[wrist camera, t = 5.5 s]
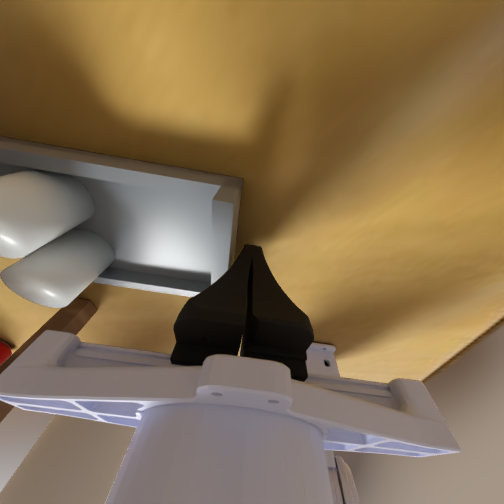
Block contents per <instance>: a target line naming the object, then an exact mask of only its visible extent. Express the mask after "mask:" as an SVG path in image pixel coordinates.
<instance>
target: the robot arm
mask: <svg viewBox="0 0 504 504" xmlns="http://www.w3.org/2000/svg"><path fill="white" fill-rule="evenodd" d="M174 333H175V338H176V345H175V347H174V350H173V352H172V354H166V353H159V352H151V351H144V350H137V349H129V348H122V347H114V346H107V345H100V344H92V343H85V342H81V340H80V338H79V337H78V336H76V335H74V334H72V333H68V332H61V331H53V330H45V331H44V332H43V333H42V334H41V335H40V336H39V337H38V338H37V339H36V340H35V341H34V342H33V343H32V344H31V345H30V346H29V347H28V348H27V349H26V350H25V351H24V352H23V353H22V354H21V355H20V356H19V357H18V358H16V359H15V360H14V361H13V362H12V363H11V364H10V365H9V366H8V367H7V368H6V369H5V370H4V371H3V372H2V373H1V374H0V400H1V401H3V402H6V403H8V404H11V405H13V406H16V407H18V408H21V409H23V410H29V411H37V412H45V413H52V414H58V415H65V416H71V417H77V418H83V419H89V420H95V421H101V422H106V423H112V424H118V425H124V426H129V427H135V428H137V429H136V431H135V434H134V436H133V439H132V441H131V443H130V446H129V449H128V451H127V453H126V455H125V458H124V460H123V463H122V465H121V468H120V470H119V472H118V475H117V477H116V479H115V482H114V484H113V487H112V489H111V491H110V494H109V496H108V499H107V501H106V504H360V502H359V498H358V495H357V491H356V487H355V483H354V480H353V477H352V474H351V471H350V468H349V466H348V465H347V464H346V463H345V462H344V461H343V459H342V457H340V456H335V461H334V456H333V451H332V450H336V451H352V452H366V453H367V452H368V453H380V454H391V455H403V456H411V457H426V456H434V455H441V454H449V453H457V452H461V448H460V446H459V444H458V442H457V441H456V439H455V437H454V436H453V434H452V432H451V431H450V429H449V427H448V425H447V424H446V422H445V420H444V418H443V417H442V415H441V413H440V411H439V410H438V408H437V406H436V405H435V403H434V401H433V399H432V398H431V396H430V394H429V392H428V391H427V389H426V387H425V386H424V384H423V382H421V381H418V380H411V379H404V378H398V379H394V380H392V381H390V382H389V383H380V382H373V381H365V380H358V379H351V378H343V377H340V374H339V370H338V367H337V363H336V360H335V356H334V352H335V351H336V348H335V346H333V345H327V344H319V343H313V340H314V333H313V329H312V326H311V323H310V320H309V317H308V316H307V315H306V314H305V313H304V312H303V311H301V310H300V309H299V308H298V307H297V306H296V305H295V304H294V303H293V302H292V301H291V300H290V299H289V297H288V296H287V295H286V294H285V293H284V291H283V290H282V289H281V287H280V286H279V284H278V283H277V281H276V280H275V278H274V276H273V275H272V273H271V271H270V269H269V267H268V265H267V262H266V260H265V257H264V254H263V251H262V248H261V247H260V246H254V245H247V244H246V245H244V248H243V250H242V252H241V253H240V255H239V256H238V258H237V259H236V261H235V262H234V263H233V264H232V266H231V267H230V268H229V269H228V270H227V271H226V272H225V273H224V274H223V275H222V276H221V277H220V278H219V279H218V280H217V281H216V282H214V283H213V284H212V285H210V286H209V287H208V288H206V289H205V290H203V291H202V292H200V293H199V294H197V295H195V296H194V297H192V298H190V299H189V300H188V301H187V302H186V304H185V305H184V307H183V308H182V310H181V312H180V313H179V315H178V317H177V320H176V322H175V324H174ZM242 335H243V336H242ZM241 339H242V344H241ZM240 344H241V351H240V356H237V355H238V351H239V348H240ZM335 463H336V466H335ZM336 470H337V471H336Z"/></svg>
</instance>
